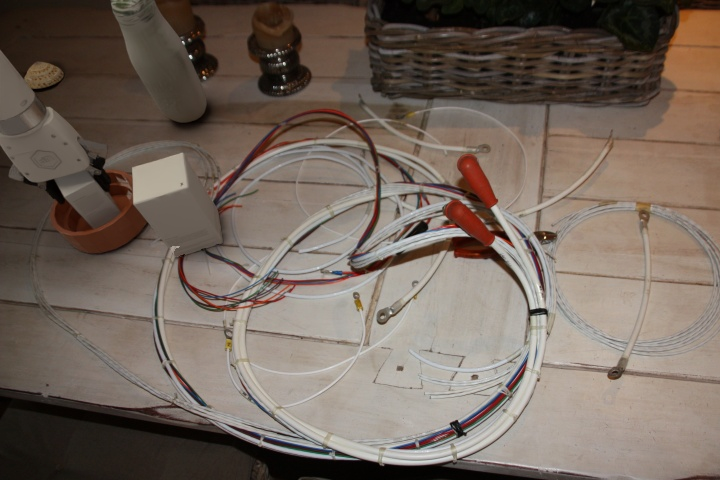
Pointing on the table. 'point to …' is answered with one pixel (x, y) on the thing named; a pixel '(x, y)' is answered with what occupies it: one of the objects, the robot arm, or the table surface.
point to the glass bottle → (160, 60)
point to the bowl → (108, 234)
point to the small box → (88, 198)
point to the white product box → (176, 204)
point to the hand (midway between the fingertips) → (85, 192)
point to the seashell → (43, 75)
